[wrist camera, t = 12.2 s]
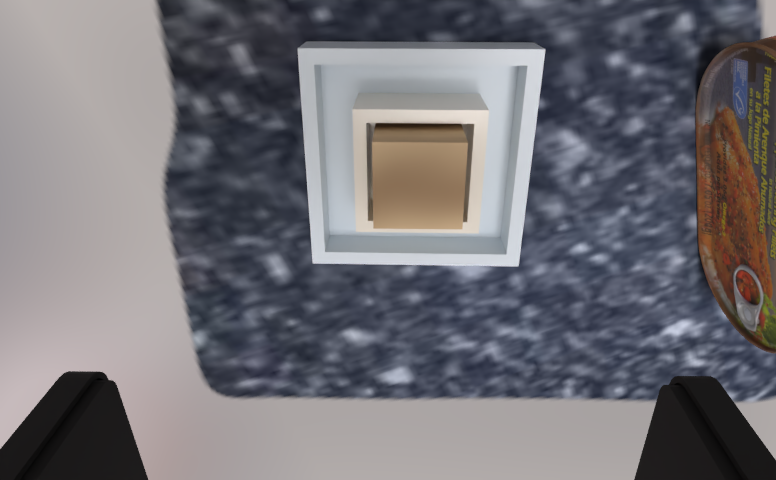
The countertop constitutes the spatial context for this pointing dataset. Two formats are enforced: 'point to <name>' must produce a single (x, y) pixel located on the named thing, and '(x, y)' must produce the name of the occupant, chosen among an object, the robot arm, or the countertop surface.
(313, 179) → the tray
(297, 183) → the countertop surface
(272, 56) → the countertop surface
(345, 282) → the countertop surface
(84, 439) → the robot arm
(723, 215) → the tin
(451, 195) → the block
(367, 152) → the cream square open box
